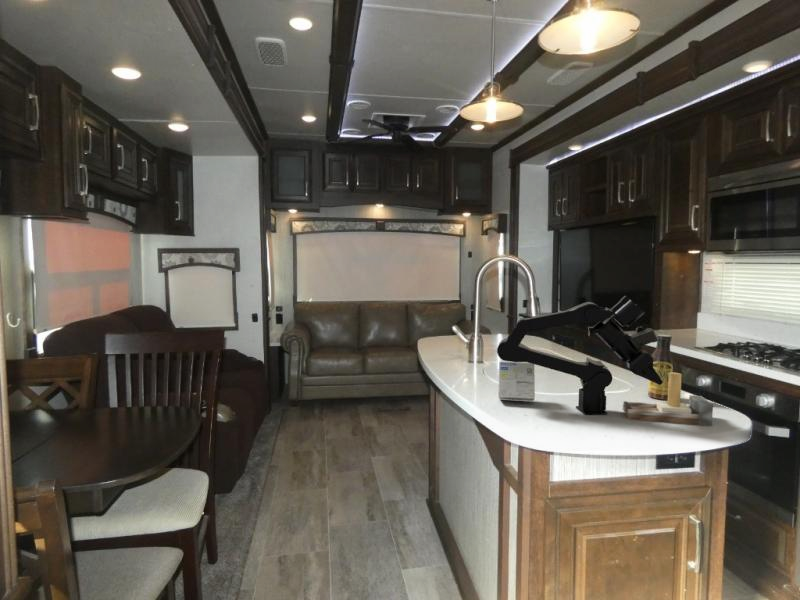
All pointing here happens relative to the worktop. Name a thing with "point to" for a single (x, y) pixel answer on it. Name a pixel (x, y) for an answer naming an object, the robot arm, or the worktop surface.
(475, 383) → the worktop surface
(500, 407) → the worktop surface
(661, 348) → the sauce bottle
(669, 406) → the rail carriage
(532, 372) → the light bulb box
